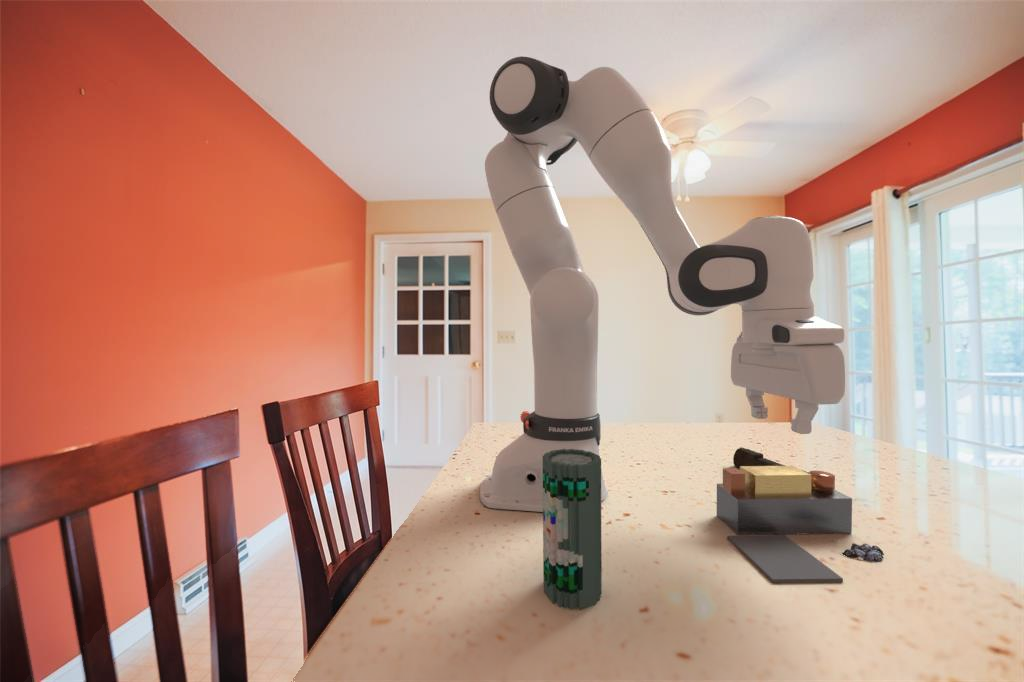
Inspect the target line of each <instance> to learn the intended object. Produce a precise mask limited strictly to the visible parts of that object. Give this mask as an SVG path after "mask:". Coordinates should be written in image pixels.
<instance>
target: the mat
mask: <svg viewBox="0 0 1024 682" xmlns="http://www.w3.org/2000/svg"><path fill="white" fill-rule="evenodd" d="M726 539H727V540H728V541H729V542H730V543H731V544H732V545H734V547H735V548H737V549H738V551H739V552H740V553H741V554H742V555H743V556H745V557H746V558H747V560H748V561H750V562H751V563H752V564H753V565H754V566H755V567H756V568H757V569H758V570H759V571H760V572H761V573H762V574H763V575H764V576H765V577H766V578H767V579H768V580H769V581H770V582H771V583H773V584H776V583H777V584H781V583H785V584H786V583H843V582H844V578H843V577H842V576H840V575H839V574H838V573H836V572H835V571H834V570H833V569H831V568H830V567H828V566H827V565H826V564H824V563H823V562H822V561H820V560H819V559H818V558H817V557H815V556H814V555H813V554H811V553H810V552H809V551H807V550H806V549H805V548H803V547H802V546H800V545H799V544H798V543H797V542H795V541H794V540H792V539H791V538H790V537H788V536H787V534H760V535H727V536H726Z"/></svg>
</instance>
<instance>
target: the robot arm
mask: <svg viewBox="0 0 1024 682" xmlns="http://www.w3.org/2000/svg"><path fill="white" fill-rule="evenodd" d="M489 104H490V108H491V111H492V114H493V115H494V117H495V119H496V121H497V122H498V123H499V125H500V126H501V127H502V129H504V130H505V131H506V132H507V133H506V135H505V137H504V138H503V140H502V141H500V142H498V143H496V145H494V146H493V147H492V148H491V149H490V150H489V152H488V153H487V154H486V157H485V161H484V172H485V178H486V182H487V187H488V189H489V191H488V192H489V194H490V198H491V201H492V204H493V207H494V210H495V213H496V215H497V219H498V220H499V223H500V226H501V229H502V231H503V234H504V237H505V239H506V242H507V244H508V247H509V250H510V252H511V254H512V257H513V259H514V261H515V264H516V266H517V268H518V271H519V272H520V275H521V277H522V280H523V281H524V283H525V284H524V285H525V286H526V288H527V291H528V293H529V295H530V301H529V302H530V306H529V307H530V328H531V346H532V357H533V359H532V360H533V371H534V373H533V375H534V377H533V378H534V379H533V383H534V411H532V412H531V413H530V412H529V411H527V410H524V411H522V413H520V416H519V417H520V421H521V422H522V423H523V424H522V426H523V427H522V429H523V433H522V434H521V435H519V436H518V437H517V438H516V439H514V440H513V441H512V442H511V443H509V444H508V445H507V446H505V447H504V448H503V449H501V450H500V452H499V453H498V454H497V456H496V457H495V460H494V464H493V467H492V472H491V474H490V475H488V476H486V477H485V478H484V479H483V480H482V482H481V484H480V488H479V498H480V501H481V503H482V504H483V505H484V506H485V507H487V508H488V509H499V510H510V511H511V510H513V511H523V512H524V511H525V512H526V511H527V512H539V513H543V456H544V454H546V453H548V452H550V451H553V450H560V449H566V450H568V449H574V450H576V449H578V450H584V451H586V452H587V451H590V452H592V453H594V454H597V455H599V456H600V449H599V448H600V447H599V446H600V444H601V434H602V433H601V431H602V430H601V418H600V413H598V351H599V350H598V343H599V342H598V341H599V294H598V290H597V288H596V285H595V283H594V281H592V279H591V278H590V277H589V276H588V275H587V274H586V272H585V269H584V266H583V263H582V260H581V258H580V254H579V253H578V252H579V251H578V248H577V246H576V244H575V243H576V242H575V240H574V238H573V234H572V233H573V232H572V231H571V228H570V226H569V224H568V220H567V218H566V215H565V213H564V210H563V208H562V205H561V203H560V200H559V198H558V195H557V193H556V189H555V187H554V184H553V183H552V179H551V177H550V174H549V171H548V167H547V166H551V165H554V164H556V162H557V161H558V160H559V159H560V157H562V156H563V155H564V154H566V153H568V151H570V150H571V149H572V148H574V146H575V145H576V144H577V142H578V143H579V145H580V146H581V148H582V149H583V151H584V152H585V153H586V156H587V157H588V159H589V161H590V162H591V164H592V166H593V167H594V168H595V170H596V171H597V173H598V174H599V175H600V176H601V178H602V179H603V180H604V182H605V183H606V185H607V186H608V187H609V188H610V190H612V192H613V193H614V194H615V195H616V196H617V198H618V199H620V201H621V202H622V203H623V204H624V206H625V207H626V209H628V211H629V212H630V213H631V214H632V215H633V217H634V218H635V219H636V221H637V222H638V224H639V225H640V227H641V228H642V230H643V232H644V234H645V236H646V237H647V238H648V241H649V242H650V244H651V246H652V247H653V249H654V251H655V253H656V254H657V256H658V257H659V260H660V261H661V262H662V265H663V267H664V270H665V274H666V282H667V283H666V284H667V292H668V296H669V298H670V300H671V302H672V304H673V305H674V306H675V307H676V308H677V309H678V310H680V311H681V312H683V313H685V314H688V315H691V316H706V315H710V314H712V313H714V312H716V311H718V310H721V309H722V308H726V307H729V306H730V305H739V306H740V307H741V320H742V321H741V322H742V323H741V324H742V325H741V327H742V328H741V330H742V331H741V332H740V334H739V335H738V337H736V342H735V343H734V345H733V346H732V350H731V358H730V359H731V360H730V361H731V364H730V379H731V382H732V384H733V385H734V386H736V387H739V388H745V395H746V398H747V400H748V403H749V405H750V406H751V407H750V412H751V413H750V414H751V417H752V418H755V419H758V420H764V419H768V417H769V414H768V413H769V410H768V409H769V408H768V407H767V406H765V402H764V398H763V396H764V395H765V394H769V395H773V396H778V397H782V398H786V399H790V400H794V403H795V404H794V408H795V409H797V412H796V414H795V418H791V419H790V424H791V427H790V430H791V431H792V432H793V433H797V434H800V435H809V434H811V433H812V428H813V427H812V421H813V420H814V418H815V416H816V415H817V413H818V411H819V405H837V404H840V402H841V401H842V399H843V398H844V397H845V392H846V364H845V356H844V353H843V350H842V349H841V348H840V347H839V345H838V344H842V343H843V342H844V340H845V329H844V328H843V327H842V326H840V325H838V324H835V323H832V322H829V321H828V320H825V319H823V318H821V317H819V316H816V315H815V309H814V308H815V305H814V302H813V300H812V295H811V286H812V283H813V280H814V261H813V257H814V256H813V248H812V243H811V238H810V233H809V230H808V227H807V226H806V225H805V224H804V223H803V221H800V220H798V219H796V218H794V217H790V216H784V215H768V216H761V217H755V218H752V219H750V220H748V221H746V223H745V224H744V225H743V226H741V227H740V228H738V229H737V230H736V231H734V232H732V233H730V234H728V235H726V236H725V237H723V238H721V239H719V240H716V241H714V242H711V243H708V244H705V245H702V246H699V245H698V243H697V241H696V239H695V237H694V236H693V234H692V232H691V230H690V229H689V227H688V226H687V224H686V222H685V220H684V218H683V217H682V215H681V213H680V211H679V210H678V207H677V204H676V202H675V199H674V193H673V187H672V152H671V148H670V145H669V143H668V140H667V137H666V134H665V132H664V130H663V127H662V126H661V124H660V122H659V121H658V119H657V117H656V116H655V114H654V112H653V111H652V110H651V108H650V107H649V105H648V104H647V102H646V101H645V100H644V98H643V97H642V96H641V95H640V93H639V92H638V91H637V89H636V88H635V87H634V86H633V85H632V84H631V83H630V82H629V81H628V80H627V79H626V78H625V77H624V76H623V75H622V74H621V73H619V72H618V71H617V70H616V69H615V68H612V67H609V66H600V67H597V68H594V69H591V70H590V71H588V72H587V73H585V74H583V75H582V76H581V77H580V78H579V79H577V80H575V81H573V80H569V78H568V74H567V72H566V71H565V70H564V69H562V68H559V67H557V66H553V65H550V64H549V63H546V62H544V61H541V60H539V59H537V58H533V57H529V56H515V57H513V58H510V59H509V60H507V61H506V62H504V63H503V64H502V65H501V66H500V67H499V68H498V70H496V73H495V74H494V77H493V79H492V81H491V85H490V89H489ZM548 161H549V162H548ZM607 495H608V491H607V488H606V485H605V480H604V476H603V472H602V469H601V502H602V501H604V500H605V498H606V497H607Z"/></svg>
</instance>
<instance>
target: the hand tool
mask: <svg viewBox="0 0 1024 682" xmlns="http://www.w3.org/2000/svg"><path fill="white" fill-rule="evenodd" d="M732 457H733V458H732V459H733V465H734V468H737V469H738V470H740V466H786V465H785V464H781V463H779V462H776V461H773V460H771V459H768V458H767V457H765V458H764V454H763V453H760V452H756V451H755V450H752V449H750V448H745V447H740V446H739V448H737V449H736V450H735V452H734V454H733V456H732ZM801 470H802V469H801ZM802 471H804V472H806V473H808V474H809V472H810V471H808V472H807V471H806V470H802Z"/></svg>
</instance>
